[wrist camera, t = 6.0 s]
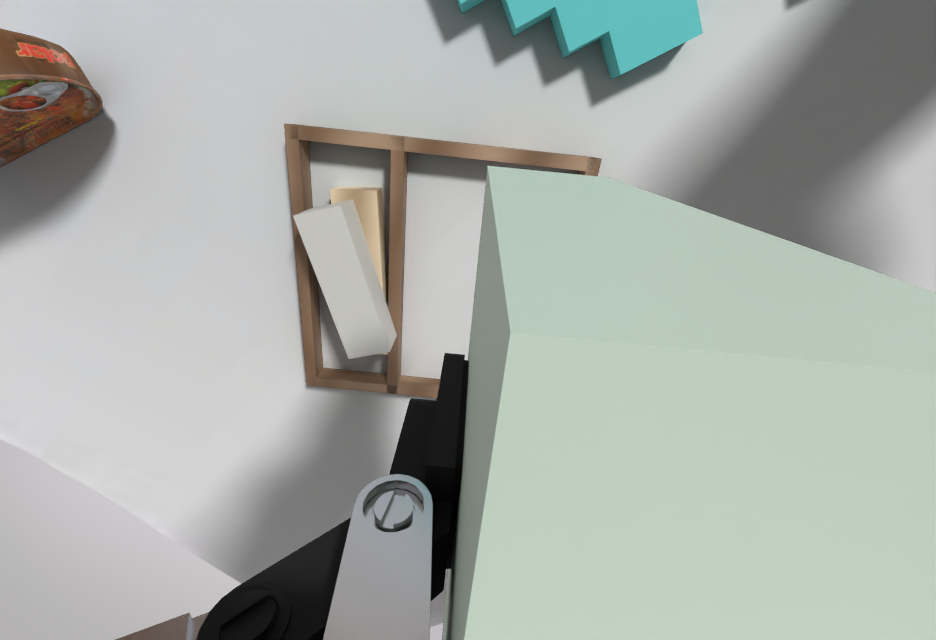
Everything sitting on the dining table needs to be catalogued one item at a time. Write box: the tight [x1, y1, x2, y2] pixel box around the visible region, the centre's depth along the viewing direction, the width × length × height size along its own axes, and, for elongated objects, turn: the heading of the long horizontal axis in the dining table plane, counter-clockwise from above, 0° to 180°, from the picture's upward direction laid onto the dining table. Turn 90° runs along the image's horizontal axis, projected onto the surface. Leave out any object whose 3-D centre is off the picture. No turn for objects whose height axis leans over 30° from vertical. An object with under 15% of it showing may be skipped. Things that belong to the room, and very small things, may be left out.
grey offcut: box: [293, 199, 397, 359], centre depth 26 cm, size 3×10×2 cm, turn 12°
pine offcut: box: [330, 186, 388, 355], centre depth 28 cm, size 3×12×2 cm, turn 178°
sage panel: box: [442, 166, 936, 640], centre depth 8 cm, size 3×12×9 cm, turn 175°
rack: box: [284, 124, 601, 398], centre depth 28 cm, size 19×19×2 cm
